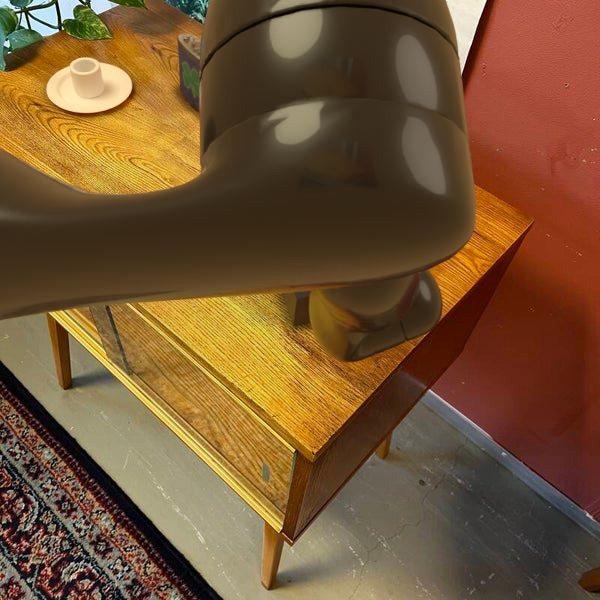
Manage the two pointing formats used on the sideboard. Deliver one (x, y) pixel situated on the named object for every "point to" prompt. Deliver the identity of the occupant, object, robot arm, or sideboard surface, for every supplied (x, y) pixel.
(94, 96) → the candle holder
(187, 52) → the flask
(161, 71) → the sideboard surface
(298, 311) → the knife block
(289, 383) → the sideboard surface
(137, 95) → the sideboard surface
